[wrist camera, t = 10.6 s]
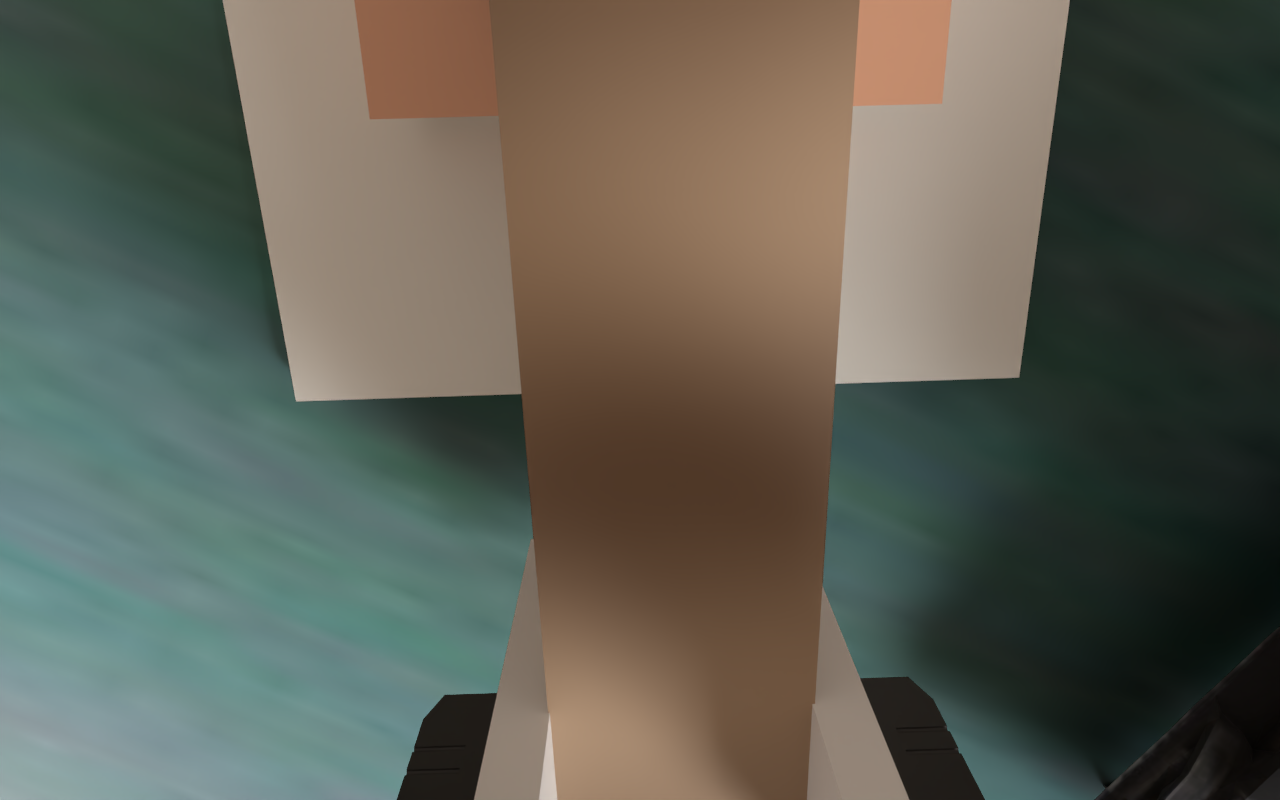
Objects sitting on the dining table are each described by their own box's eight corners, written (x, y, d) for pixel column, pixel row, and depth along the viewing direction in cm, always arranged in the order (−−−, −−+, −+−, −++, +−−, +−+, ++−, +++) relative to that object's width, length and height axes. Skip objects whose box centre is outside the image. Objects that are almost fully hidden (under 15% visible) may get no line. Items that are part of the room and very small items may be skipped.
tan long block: (813, 687, 17) (884, 917, 12) (521, 696, 17) (481, 931, 12) (868, -194, 11) (1034, -386, 7) (436, -183, 11) (305, -370, 7)
